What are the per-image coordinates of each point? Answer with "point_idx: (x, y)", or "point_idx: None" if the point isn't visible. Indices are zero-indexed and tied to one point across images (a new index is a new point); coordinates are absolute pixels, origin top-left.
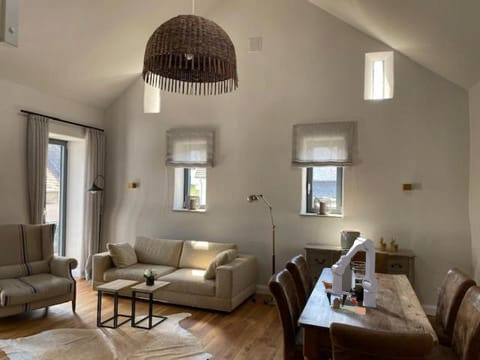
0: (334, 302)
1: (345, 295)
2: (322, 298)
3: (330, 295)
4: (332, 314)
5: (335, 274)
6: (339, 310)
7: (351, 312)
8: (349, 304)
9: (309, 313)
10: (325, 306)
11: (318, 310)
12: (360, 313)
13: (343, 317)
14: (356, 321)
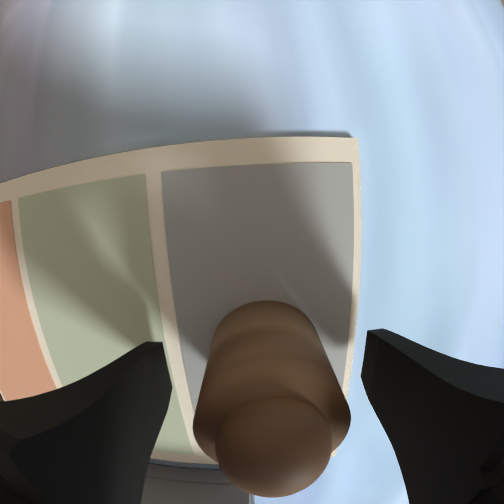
0: (315, 360)
1: (3, 499)
2: (403, 491)
3: (479, 454)
4: (282, 25)
5: None
6: (194, 228)
7: (34, 225)
8: None
9: (495, 24)
10: (417, 334)
11: (477, 127)
12: None
13: (124, 5)
14: (21, 12)
